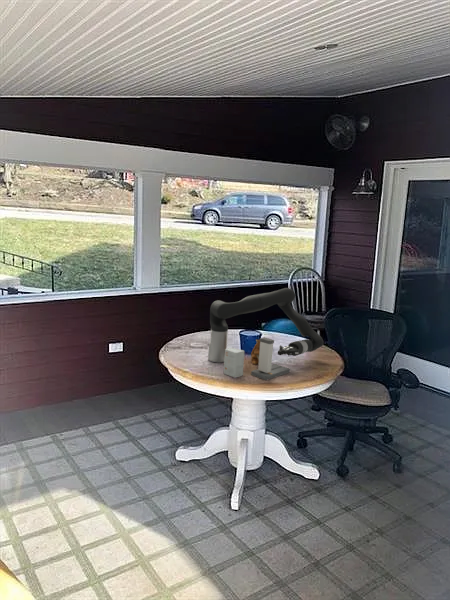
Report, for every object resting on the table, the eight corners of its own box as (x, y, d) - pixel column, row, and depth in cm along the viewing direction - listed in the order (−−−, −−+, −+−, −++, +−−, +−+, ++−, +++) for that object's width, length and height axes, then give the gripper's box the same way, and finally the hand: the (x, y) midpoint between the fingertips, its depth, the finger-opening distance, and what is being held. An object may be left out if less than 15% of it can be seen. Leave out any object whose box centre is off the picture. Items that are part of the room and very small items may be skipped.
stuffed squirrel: (254, 365, 270) (255, 342, 267) (245, 357, 283) (247, 335, 281) (271, 364, 272) (273, 341, 270) (262, 357, 286) (264, 335, 283)
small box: (243, 375, 252) (244, 350, 250) (234, 378, 247) (236, 353, 245) (231, 371, 257) (233, 347, 255) (223, 373, 253) (224, 349, 250)
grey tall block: (261, 368, 257) (264, 337, 254) (271, 371, 252) (274, 340, 249) (257, 370, 254) (259, 338, 251) (267, 373, 250) (269, 341, 247)
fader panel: (274, 367, 268) (275, 363, 268) (289, 372, 262) (290, 368, 261) (250, 374, 254) (251, 370, 253) (266, 380, 247) (266, 376, 247)
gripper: (288, 338, 276) (269, 343, 264) (308, 344, 268) (289, 349, 255) (287, 351, 278) (268, 356, 265) (307, 357, 269) (288, 363, 256)
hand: (279, 353), depth 260 cm, fingers closed
